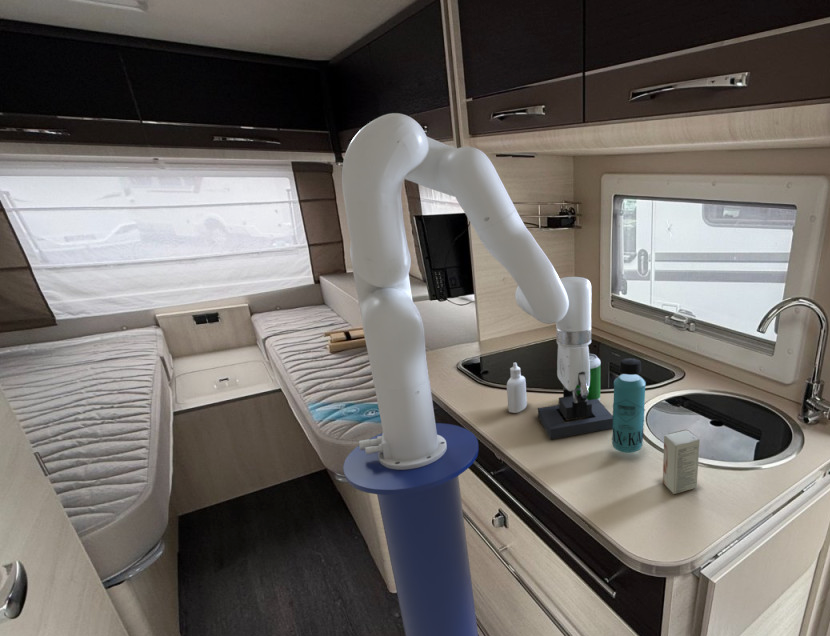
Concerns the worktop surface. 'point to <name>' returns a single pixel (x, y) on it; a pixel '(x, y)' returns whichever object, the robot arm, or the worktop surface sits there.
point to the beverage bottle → (628, 407)
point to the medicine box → (680, 461)
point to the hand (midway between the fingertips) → (574, 410)
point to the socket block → (559, 428)
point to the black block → (566, 407)
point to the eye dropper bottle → (516, 390)
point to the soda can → (593, 378)
